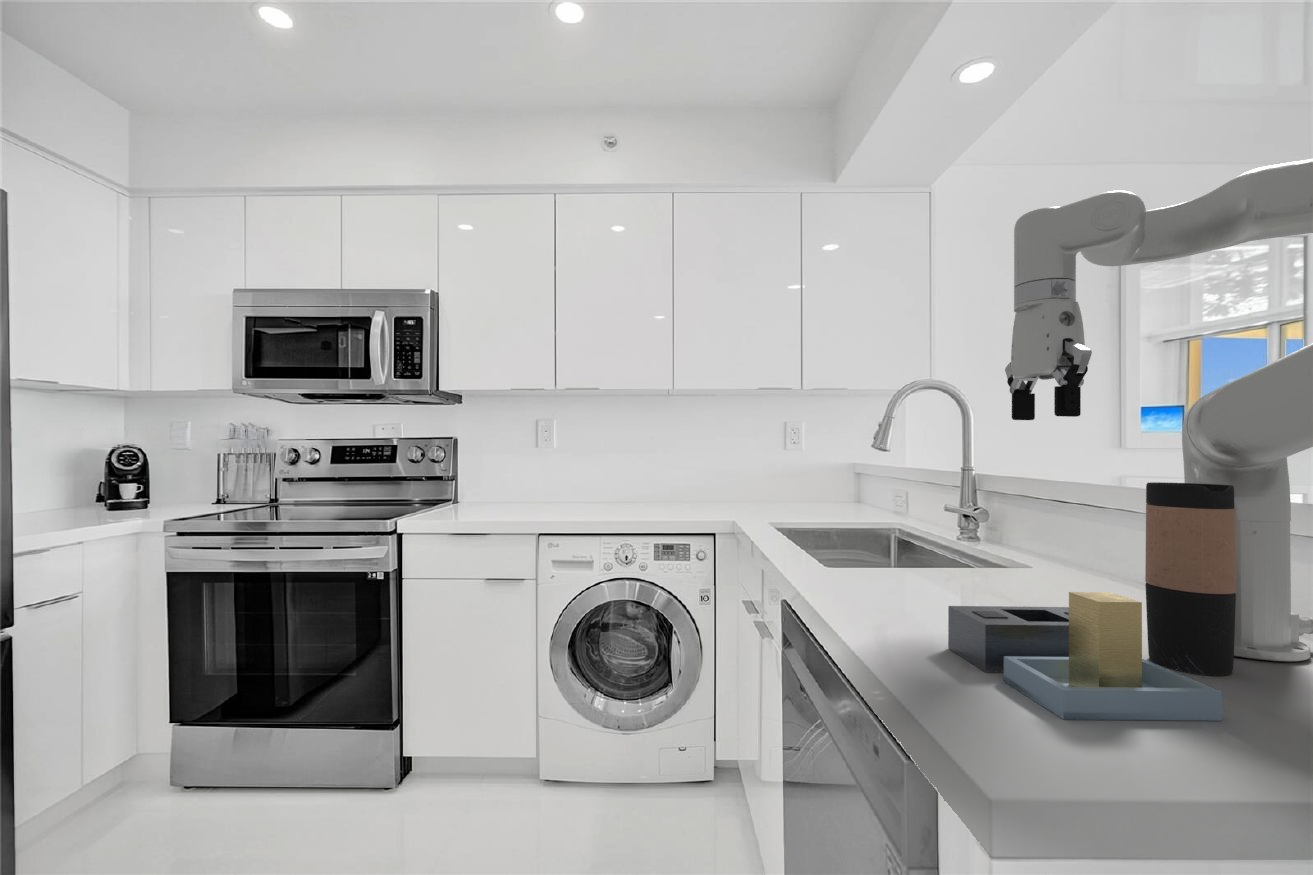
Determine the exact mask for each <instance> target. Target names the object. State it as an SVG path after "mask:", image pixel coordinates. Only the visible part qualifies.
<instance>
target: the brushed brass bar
mask: <svg viewBox="0 0 1313 875" xmlns="http://www.w3.org/2000/svg"><path fill="white" fill-rule="evenodd" d="M1068 607H1069V685H1070V686H1072V687H1132V688H1142V659H1143V625H1142V624H1143V611H1142V610H1143V602H1142V601H1139V600H1136V599H1132V598H1129V597H1126V596H1122V595H1119V594H1116V593H1114V592H1113V593H1112V592H1110V591H1108V592H1107V591H1105V592H1103V591H1101V592H1100V591H1099V592H1098V591H1094V592H1093V591H1068Z"/></svg>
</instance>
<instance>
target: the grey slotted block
mask: <svg viewBox="0 0 1313 875" xmlns="http://www.w3.org/2000/svg"><path fill="white" fill-rule="evenodd" d="M947 612H948V613H947V614H948V629H947V631H948V636H947V637H948V640H947V641H948V642H947V644H948V645H947V647H948V649H949V650H950V651H952V652H953V653H955V654H956V655H957V656H959V657H961V658H963V659H964V660H965V661H967V662H969V663H970V664H971V665H973V666H975V667H977V668H978V669H980V670H981V671H983V672H984V673H996V674H997V673H1000V674H1001V673H1003V674H1004V656H1022V657H1069V606H1010V605H1009V606H1006V605H1004V606H998V605H997V606H994V605H993V606H992V605H991V606H989V605H986V606H985V605H948V611H947Z"/></svg>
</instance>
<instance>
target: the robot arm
mask: <svg viewBox="0 0 1313 875" xmlns="http://www.w3.org/2000/svg"><path fill="white" fill-rule="evenodd" d="M1013 231H1014V232H1013V240H1014V241H1013V272H1014V273H1013V287H1014V288H1013V312H1014V314H1015V315H1014V319H1013V320H1014V321H1013V326H1012V327H1013V328H1012V335H1011V336H1012V338H1011V352H1010V357H1011V358H1010V362H1009V363H1008V364H1007V365H1006V367H1005V369H1004V372H1005V375H1006V379H1007V381H1006V382H1007V384H1008V386H1009V393H1010V394H1011V419H1012V420H1013V421H1034V420H1035V419H1036V393H1032V392H1033V390H1034V388H1035V385H1036V384H1037V382H1038V380H1042V381H1044V380H1045V381H1046V380H1053V379H1055V381H1056V383H1057V385H1058V386H1054V396H1053V397H1054V399H1053V400H1054V409H1053V411H1054V415H1055V417H1068V418H1069V417H1071V418H1072V417H1073V418H1075V417H1080V416H1081V412H1082V410H1081V398H1082V397H1081V394H1082V393H1081V387H1082V386H1083V385H1084V384H1085V380H1084V377H1085V376H1086V374H1087V373H1088V369H1089V367H1088V366H1089V364H1090V360H1091V357H1092V355H1093V354H1092V349H1090V348H1088V347H1086V346H1085V345H1086V344H1085V330H1084V323H1083V316H1082V313H1081V312H1082V311H1081V307H1080V304H1079V302H1078V301H1077V254H1078V253H1080V254H1081V255H1082V256H1083V258H1084V259H1085V260H1086V261H1088V262H1090V263H1091V264H1094V265H1096V266H1103V267H1119V266H1120V267H1121V266H1130V265H1137V264H1139V265H1140V264H1147V263H1157V262H1163V261H1169V260H1176V259H1180V258H1184V257H1185V258H1186V257H1191V256H1193V255H1198V254H1203V253H1208V252H1211V251H1216V250H1221V249H1226V248H1230V247H1234V246H1238V245H1240V244H1244V243H1248V242H1252V241H1255V242H1256V241H1261V240H1268V239H1269V240H1270V239H1275V238H1276V239H1277V238H1282V237H1291V236H1299V235H1300V236H1301V235H1306V234H1313V158H1309V159H1304V160H1298V161H1291V162H1290V161H1289V162H1286V163H1280V164H1273V165H1267V166H1262V167H1258V168H1254V169H1251V170H1249V171H1246V172H1244V173H1242V174H1239V175H1238V176H1236V177H1234V178H1232V179H1230V180H1229V181H1226V182H1225V183H1224V184H1222V185H1220V186H1218V187H1216V188H1215V189H1213V190H1211V191H1210V192H1208V193H1206V194H1203V195H1202V196H1199V197H1196V198H1194V199H1192V200H1188V201H1184V202H1181V203H1179V204H1175V205H1170V206H1167V207H1160V208H1155V209H1149V210H1147V209H1146V205H1145V202H1144V201H1143V200H1142V198H1141V197H1140V196H1138V195H1137V194H1135V193H1133V192H1131V191H1126V190H1113V191H1111V190H1110V191H1106V192H1102V193H1099V194H1096V195H1092V196H1090V197H1088V198H1084V199H1081V200H1078V201H1074V202H1072V203H1068V204H1065V205H1061V206H1048V207H1041V208H1037V209H1034V210H1030V211H1028V212H1026V213H1024V214H1022V215H1021V216H1020V217H1019V218H1018V219H1017V221H1016V222H1015V224H1014V229H1013ZM1025 382H1026V383H1025ZM1181 429H1182V430H1181V443H1182V444H1181V447H1182V458H1183V459H1182V460H1183V478H1184V483H1197V484H1219V485H1232V486H1234V509H1235V559H1236V592H1235V593H1236V611H1235V639H1234V657H1240V658H1245V659H1253V660H1261V661H1271V662H1289V663H1290V662H1303V661H1306V660H1309V659H1310V658H1311V656H1312V655H1311V654H1312V652H1311V648H1310V646H1308V645H1307V644H1305V643H1304V642H1302V641H1300V637H1301V636H1303V635H1304V634H1308V635H1313V617H1311V616H1310V617H1308V616H1307V617H1300V614H1299V613H1294V612H1292V599H1291V598H1292V594H1291V593H1292V590H1291V589H1292V588H1291V587H1292V586H1291V585H1292V581H1291V576H1292V574H1291V573H1292V571H1291V568H1292V567H1291V522H1292V518H1291V517H1292V516H1291V515H1292V512H1291V511H1292V509H1291V507H1292V506H1291V503H1292V502H1291V488H1290V487H1291V485H1290V484H1291V483H1290V475H1289V474H1290V473H1289V466H1288V457H1290V456H1293V455H1295V454H1298V453H1300V452H1304V451H1305V450H1308V449H1310V448H1312V447H1313V342H1312V343H1310V344H1307V345H1306V346H1304V347H1301V348H1299V349H1298V350H1295V351H1293V352H1291V353H1288V354H1286V355H1285V356H1283V357H1281V358H1278V359H1276V360H1274V361H1272V362H1270V363H1268V364H1266V365H1263V366H1262V367H1260V368H1258V369H1255V370H1253V371H1251V372H1249V373H1247V374H1245V375H1243V376H1241V377H1238V378H1237V379H1235V380H1233V381H1230V382H1227V383H1226V384H1224V385H1222V386H1219V387H1218V388H1216V389H1214V390H1211V391H1209V392H1208V393H1206V394H1205V395H1203V396H1202V397H1201V398H1199V399H1197V400H1196V401H1195V402H1194V403H1193V404H1192V405H1191V407H1190V408H1189V409H1188V411H1187V412H1186V414H1185V417H1184V419H1183V422H1182V428H1181Z"/></svg>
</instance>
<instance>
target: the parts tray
mask: <svg viewBox="0 0 1313 875" xmlns="http://www.w3.org/2000/svg"><path fill="white" fill-rule="evenodd" d="M1003 682H1004V683H1006V684H1007V685H1009V686H1011V687H1012V688H1014V690H1016V691H1018V692H1020V693H1021V694H1023V695H1025V696H1026V697H1027V698H1029V699H1031V700H1032V701H1033V702H1036V704H1039V705H1041V706H1042V707H1044V708H1045V709H1046V710H1048V711H1049V712H1051V713H1053V714H1054V715H1056V716H1057V717H1059V718H1060V719H1062V720H1078V721H1079V720H1085V721H1086V720H1087V721H1088V720H1090V721H1091V720H1096V721H1097V720H1101V721H1102V720H1105V721H1107V720H1112V721H1118V720H1119V721H1209V722H1210V721H1217V722H1218V721H1223V691H1221V690H1218V689H1216V688H1214V687H1211V686H1209V685H1206V684H1204V683H1202V682H1200V681H1198V680H1195V679H1192V678H1190V677H1189V676H1188V677H1187V676H1185V675H1182V674H1181V673H1178V672H1175V671H1174V670H1172V669H1170V668H1167V667H1164V666H1161V665H1159V664H1156V663H1154V662H1153V661H1149V660H1146V659H1145V658H1142V688H1132V687H1072V686H1070V685H1069V657H1022V656H1004V673H1003Z"/></svg>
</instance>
